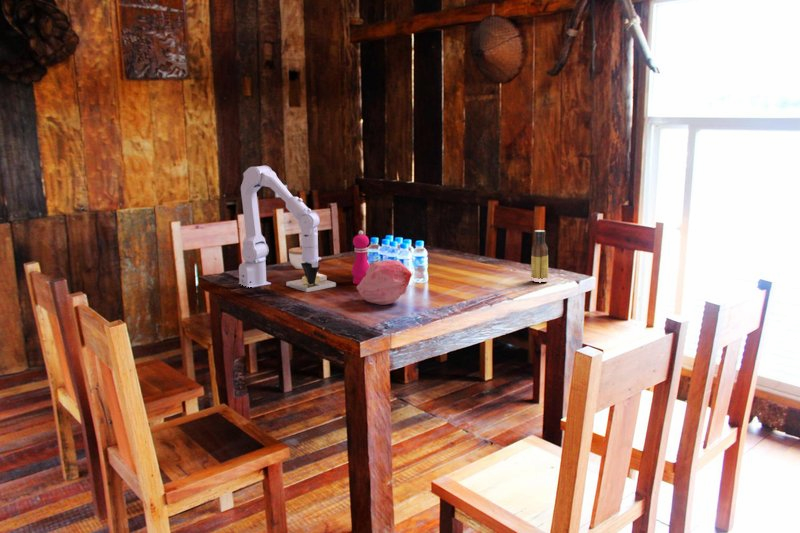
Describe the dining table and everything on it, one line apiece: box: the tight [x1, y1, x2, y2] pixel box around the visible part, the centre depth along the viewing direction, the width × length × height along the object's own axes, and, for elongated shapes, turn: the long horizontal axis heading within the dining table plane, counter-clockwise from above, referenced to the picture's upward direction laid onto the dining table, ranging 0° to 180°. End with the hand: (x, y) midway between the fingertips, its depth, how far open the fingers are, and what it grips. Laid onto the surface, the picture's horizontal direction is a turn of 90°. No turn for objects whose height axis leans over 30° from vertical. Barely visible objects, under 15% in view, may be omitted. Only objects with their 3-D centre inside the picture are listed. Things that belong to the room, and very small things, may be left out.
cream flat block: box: [303, 271, 328, 281], centre depth 256 cm, size 7×5×2 cm
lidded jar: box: [288, 244, 305, 270], centre depth 285 cm, size 11×11×9 cm
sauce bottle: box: [530, 229, 549, 279], centre depth 260 cm, size 7×6×20 cm
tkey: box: [301, 276, 319, 287], centre depth 249 cm, size 6×4×5 cm, turn 112°
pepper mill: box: [351, 230, 370, 285], centre depth 257 cm, size 7×7×20 cm
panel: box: [285, 278, 337, 293], centre depth 254 cm, size 13×13×2 cm
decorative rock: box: [356, 259, 412, 306], centre depth 229 cm, size 19×14×15 cm
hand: (310, 283), depth 249 cm, fingers closed on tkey, 2 cm apart
